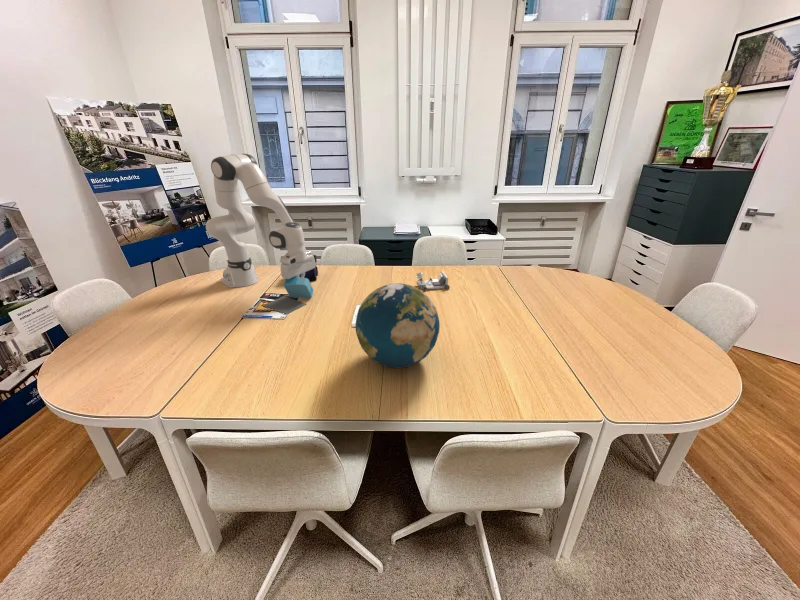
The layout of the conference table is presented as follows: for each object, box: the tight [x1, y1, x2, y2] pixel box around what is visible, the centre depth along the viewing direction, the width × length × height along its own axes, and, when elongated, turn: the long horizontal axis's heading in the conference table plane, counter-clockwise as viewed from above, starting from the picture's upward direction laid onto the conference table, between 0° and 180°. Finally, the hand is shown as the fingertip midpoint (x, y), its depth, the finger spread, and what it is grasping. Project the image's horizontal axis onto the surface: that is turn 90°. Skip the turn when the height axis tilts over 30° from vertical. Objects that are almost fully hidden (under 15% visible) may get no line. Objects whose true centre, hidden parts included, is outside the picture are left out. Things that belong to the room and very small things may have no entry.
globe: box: [355, 282, 441, 369], centre depth 124 cm, size 30×30×30 cm
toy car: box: [415, 270, 450, 292], centre depth 191 cm, size 18×10×12 cm
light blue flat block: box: [283, 277, 314, 299], centre depth 177 cm, size 12×4×12 cm
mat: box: [262, 295, 307, 315], centre depth 174 cm, size 17×13×1 cm
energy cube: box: [295, 254, 319, 282], centre depth 204 cm, size 12×12×12 cm
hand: (301, 281), depth 179 cm, fingers closed
